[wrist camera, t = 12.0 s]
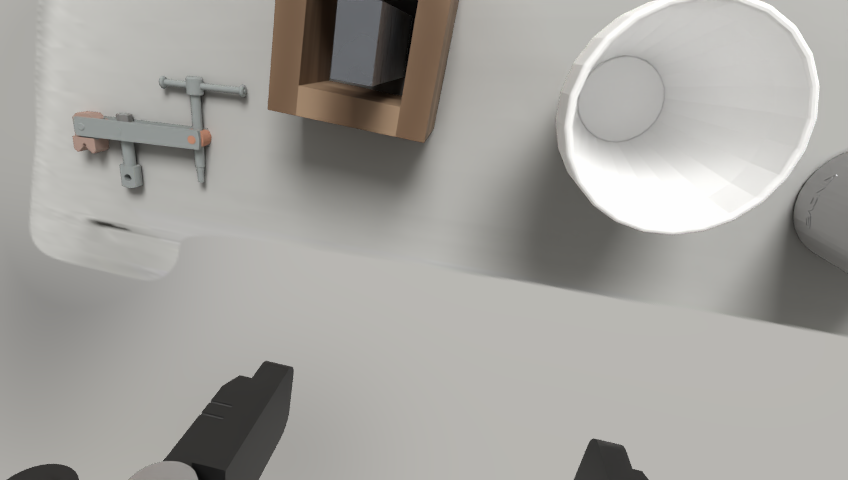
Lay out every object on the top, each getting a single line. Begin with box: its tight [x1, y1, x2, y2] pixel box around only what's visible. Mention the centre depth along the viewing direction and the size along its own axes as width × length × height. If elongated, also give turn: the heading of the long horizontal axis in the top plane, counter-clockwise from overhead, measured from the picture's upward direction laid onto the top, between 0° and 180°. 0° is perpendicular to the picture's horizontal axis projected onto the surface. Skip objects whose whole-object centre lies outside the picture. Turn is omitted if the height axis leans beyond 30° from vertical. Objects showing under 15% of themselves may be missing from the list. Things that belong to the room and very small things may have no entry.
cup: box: [556, 0, 820, 235], centre depth 31 cm, size 12×12×14 cm
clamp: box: [73, 76, 247, 188], centre depth 42 cm, size 15×2×10 cm
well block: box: [268, 0, 459, 143], centre depth 35 cm, size 11×11×7 cm
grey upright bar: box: [330, 0, 413, 86], centre depth 33 cm, size 4×4×12 cm
